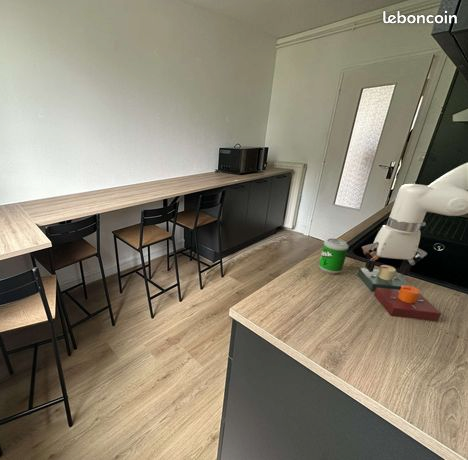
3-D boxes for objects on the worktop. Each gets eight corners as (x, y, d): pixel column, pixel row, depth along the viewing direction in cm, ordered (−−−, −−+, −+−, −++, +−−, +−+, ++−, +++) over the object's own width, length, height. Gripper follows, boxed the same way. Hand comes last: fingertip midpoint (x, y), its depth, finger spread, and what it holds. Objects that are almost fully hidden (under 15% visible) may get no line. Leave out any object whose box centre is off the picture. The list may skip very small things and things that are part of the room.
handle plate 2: (414, 299, 79) (418, 291, 78) (437, 321, 70) (441, 312, 69) (373, 294, 82) (376, 286, 80) (390, 316, 73) (394, 307, 72)
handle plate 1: (392, 278, 90) (395, 270, 88) (410, 295, 81) (413, 287, 80) (357, 275, 92) (359, 267, 91) (370, 291, 83) (373, 283, 82)
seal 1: (388, 274, 87) (392, 264, 85) (395, 281, 83) (399, 271, 82) (374, 273, 88) (378, 263, 86) (380, 279, 84) (384, 269, 83)
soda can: (339, 266, 98) (347, 239, 93) (342, 276, 92) (351, 247, 87) (317, 263, 101) (323, 236, 96) (319, 272, 95) (326, 244, 90)
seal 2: (410, 295, 76) (414, 285, 75) (419, 304, 72) (424, 293, 71) (394, 294, 77) (398, 283, 76) (402, 302, 73) (407, 291, 72)
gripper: (428, 222, 79) (409, 268, 86) (365, 218, 83) (351, 263, 90) (446, 231, 73) (424, 280, 79) (377, 227, 77) (360, 274, 83)
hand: (385, 271), depth 85 cm, fingers open, 9 cm apart
